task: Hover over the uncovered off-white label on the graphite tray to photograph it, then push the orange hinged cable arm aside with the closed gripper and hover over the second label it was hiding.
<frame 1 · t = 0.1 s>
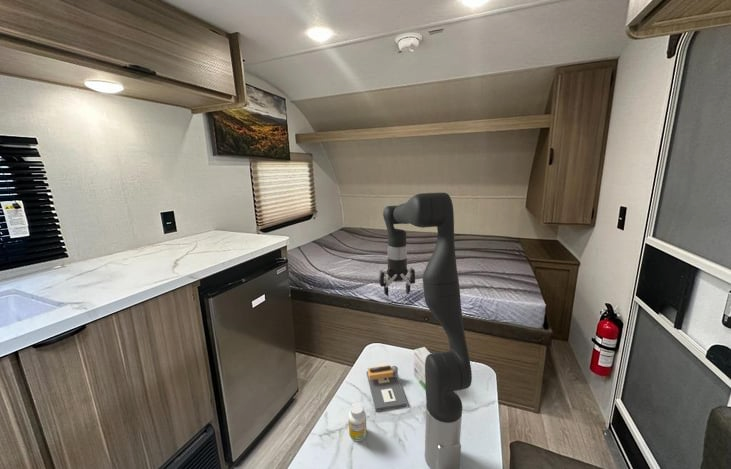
hand: (397, 294, 116), 29 cm above the table, fingers open, 8 cm apart
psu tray: (385, 388, 106), on the table
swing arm: (383, 370, 109), point 5 cm above the table, hinge at 0.0°
supplement bottle: (358, 434, 89), on the table
ink box: (424, 381, 109), on the table
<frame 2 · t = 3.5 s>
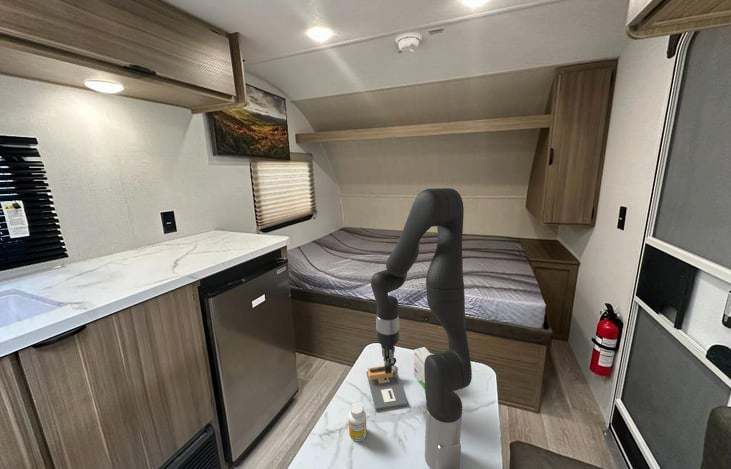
hand: (388, 371, 99), 11 cm above the table, fingers closed
nothing on the table moved.
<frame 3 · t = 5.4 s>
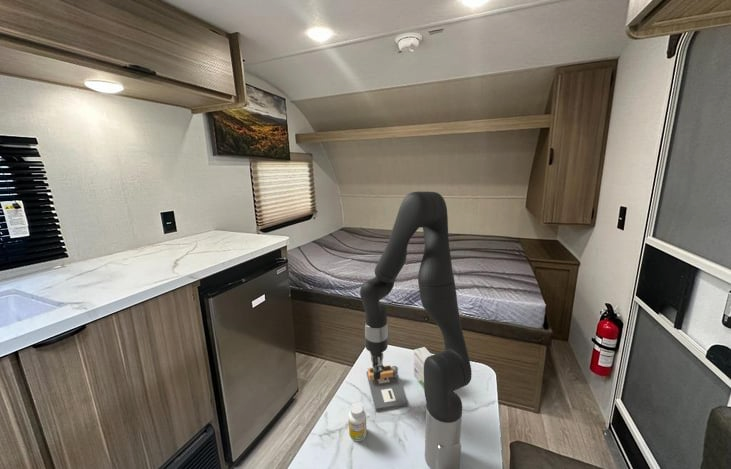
hand: (376, 377, 100), 8 cm above the table, fingers closed
nothing on the table moved.
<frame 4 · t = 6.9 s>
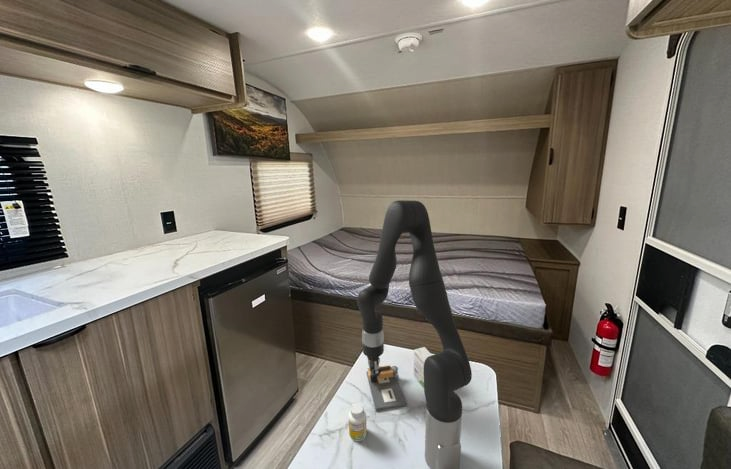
hand: (373, 381, 105), 4 cm above the table, fingers closed
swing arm: (383, 370, 109), point 5 cm above the table, hinge at 0.0°, touching gripper
everything else where it was.
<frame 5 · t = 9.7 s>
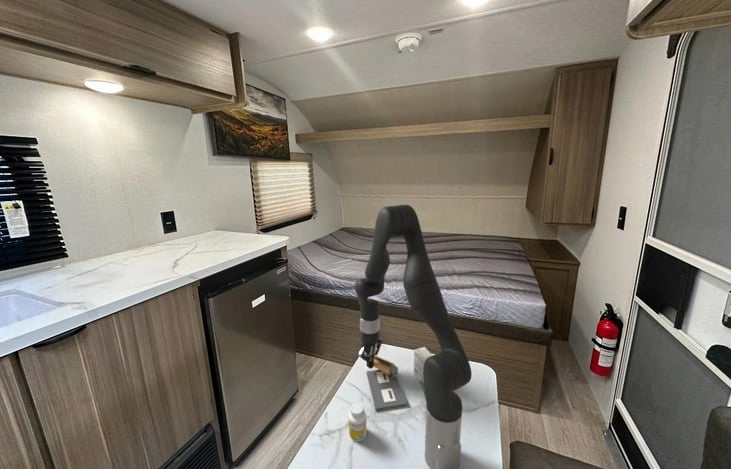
hand: (370, 366, 112), 4 cm above the table, fingers closed
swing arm: (384, 364, 112), point 5 cm above the table, hinge at -47.7°, touching gripper
everything else where it was.
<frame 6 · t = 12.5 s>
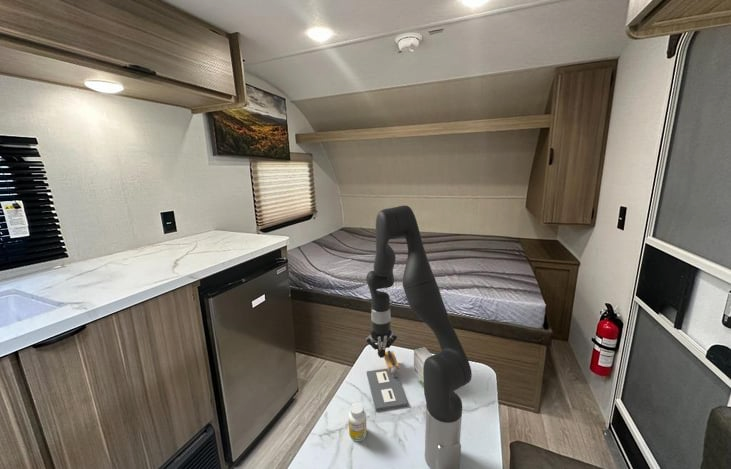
hand: (381, 356, 117), 4 cm above the table, fingers closed
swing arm: (391, 361, 113), point 5 cm above the table, hinge at -91.1°
everything else where it was.
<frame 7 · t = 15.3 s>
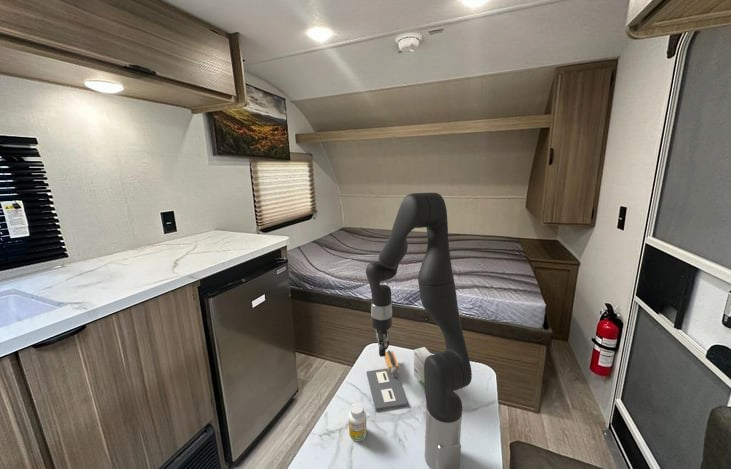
hand: (382, 355, 107), 11 cm above the table, fingers closed
nothing on the table moved.
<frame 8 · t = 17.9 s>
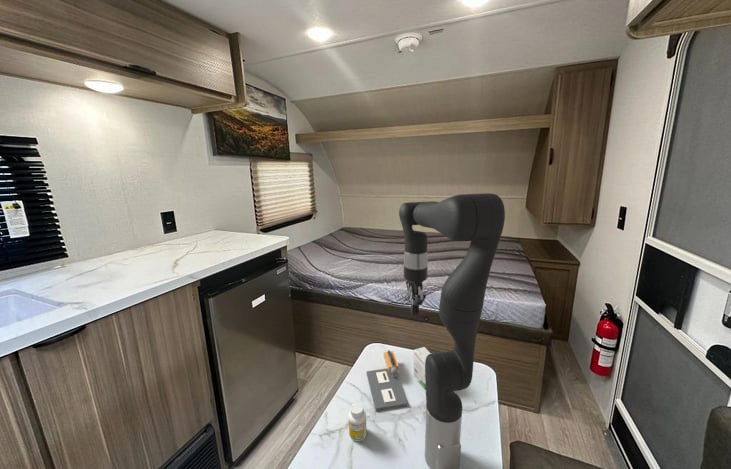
hand: (414, 313, 96), 32 cm above the table, fingers closed
nothing on the table moved.
at the end: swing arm at -91° (first picture: +0°) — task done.
